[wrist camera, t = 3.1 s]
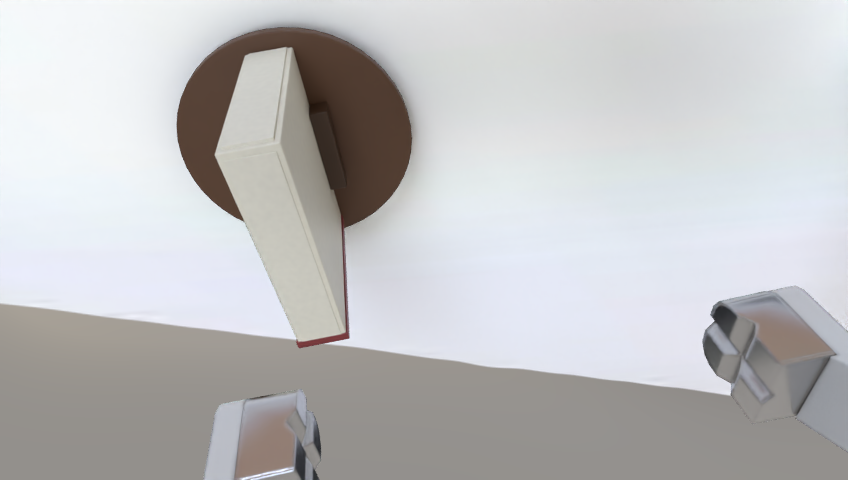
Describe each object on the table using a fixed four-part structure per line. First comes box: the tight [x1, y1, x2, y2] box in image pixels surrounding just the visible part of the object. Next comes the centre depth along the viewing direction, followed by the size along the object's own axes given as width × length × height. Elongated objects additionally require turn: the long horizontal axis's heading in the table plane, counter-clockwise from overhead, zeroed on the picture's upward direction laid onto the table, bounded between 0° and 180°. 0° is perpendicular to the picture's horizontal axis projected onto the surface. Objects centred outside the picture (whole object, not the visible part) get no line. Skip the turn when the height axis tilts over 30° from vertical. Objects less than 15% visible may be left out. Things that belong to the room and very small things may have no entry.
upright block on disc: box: [177, 27, 412, 348], centre depth 33 cm, size 16×16×13 cm
